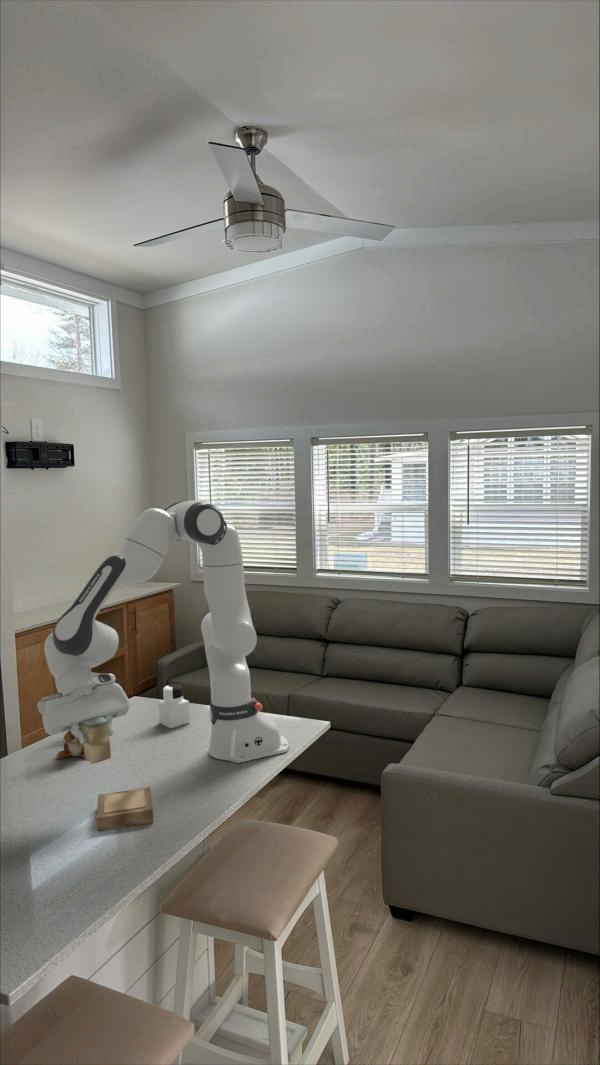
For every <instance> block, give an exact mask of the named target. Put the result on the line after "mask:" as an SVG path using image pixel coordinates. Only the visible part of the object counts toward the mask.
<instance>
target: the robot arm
mask: <svg viewBox="0 0 600 1065" xmlns="http://www.w3.org/2000/svg"><path fill="white" fill-rule="evenodd" d="M238 533H239V532H238V531H237V529H236V527H235V526H233V525H231V524H230V523H227V522H226V520H225V519H224V515H223V513H222V512H221V509H219V508H218V507H217V506H216V505H214V504H213V503H211V502H208V501H200V500H187V501H179V502H175V503H173V504H170V505H169V506H168V507H166V508H165V509H162V508H159V507H158V508H157V507H151V508H148V509H145V510H144V511H143V512H142V513H141V514H140V515H139V517H138V518H137V519H136V521H135V522H134V524H133V525H132V526H131V528H130V530H129V531H128V533H127V535H126V536H125V539H124V540H123V542H122V543H121V545H120V546H119V548H118V549H117V550H116V551H115V553H114V554H112V555H111V556H109V557H107V558H106V559H105V560H104V561H102V563H101V564H100V565H99V567H98V568H97V569H96V571H95V572H94V573H93V574H92V576H91V578H90V579H89V580H88V582H87V583H86V585H85V587H83V589H82V590H81V592H80V593H79V595H78V596H77V597H76V599H75V601H74V602H73V604H71V606H70V607H69V608H68V609H67V610H65V612H64V613H63V614H62V615H61V616H60V617H59V618H58V619H57V621H56V622H55V623H54V624H55V625H54V626H53V630H52V632H51V633H50V634H49V635H48V636H47V637H46V638H45V641H44V645H43V646H44V647H43V649H44V655H45V660H46V663H47V666H48V669H49V671H50V674H51V675H52V676H53V678H54V683H55V684H54V685H55V687H56V690H57V693H56V694H51V695H50V696H44V697H41V698H40V700H38V702H37V705H36V707H37V710H38V713H39V714H40V715H42V716H41V718H42V724H43V727H44V731H45V734H47V735H49V736H54V735H58V734H60V733H65V732H68V731H69V730H70V731H71V733H72V734H73V735H74V736H75V737H77V738H79V740H80V743H81V744H85V743H88V741H89V738H88V737H87V733H85V734H83V733H82V732H81V731H79V730H78V729H79V728H80V727H82V721H86V720H90V719H93V718H97V717H103V718H105V719H107V720H108V722H109V724H108V725H109V737H112V736H113V734H114V730H113V727H112V723H113V719H115V718H119V717H123V716H126V715H128V714H127V713H128V712H129V710H130V707H131V703H130V700H129V697H128V696H127V694H126V692H125V690H124V689H123V687H122V686H121V685H120V684H119V683H116V676H115V675H114V674H113V673H101V672H94V671H93V672H92V669H93V668H94V669H95V668H97V667H99V666H101V665H104V664H105V663H107V662H109V660H112V658H113V657H115V655H116V654H117V652H118V649H119V646H120V637H119V633H118V632H117V630H116V629H115V628H113V627H112V626H109V625H108V624H106V623H103V622H102V621H98V620H96V617H97V615H98V613H99V612H100V611H101V609H102V608H103V607H104V605H105V604H106V602H107V600H108V599H109V597H110V596H111V594H112V593H113V591H115V589H116V588H118V587H120V586H122V585H125V584H137V583H142V582H146V581H149V580H150V579H152V578H153V577H154V576H155V575H156V573H157V572H158V570H159V569H160V567H161V565H162V563H163V561H164V559H165V558H166V555H167V553H168V551H169V548H171V546H172V545H173V544H174V543H175V542H176V541H177V542H178V541H180V542H184V543H185V542H186V543H191V544H193V543H197V544H198V546H199V548H200V551H201V554H202V556H201V557H202V558H201V559H202V561H201V562H202V572H203V573H202V574H203V586H204V595H205V598H206V601H207V605H208V610H209V611H208V613H207V614H206V615H205V616H204V617H203V618H202V621H201V625H200V631H201V634H202V639H203V644H204V645H203V646H204V651H205V656H206V662H207V667H208V672H209V683H210V684H209V685H210V699H211V701H210V702H209V717H210V718H209V719H210V722H211V730H210V731H211V732H210V733H211V734H210V741H209V746H208V752H207V753H208V754H209V756H211V758H212V757H213V758H214V759H217V760H221V761H222V760H224V761H230V762H232V763H236V764H237V763H239V764H240V762H241V763H245V762H248V761H253V759H254V760H258V759H263V758H267V757H271V756H274V755H279V754H284V753H286V752H288V750H289V749H290V745H289V741H288V739H287V738H286V737H285V736H284V735H282V734H281V733H280V730H279V727H278V725H277V723H276V722H275V721H274V719H272V718H271V717H270V716H267V715H266V714H264V713H262V712H261V711H262V710H263V708H264V707H263V704H261V702H259V700H257V699H256V698H255V697H252V690H251V673H250V669H249V666H248V664H247V660H246V657H247V656H249V655H250V654H251V653H252V652H254V650H255V648H256V646H257V642H258V636H257V632H256V629H255V627H254V625H253V620H252V616H251V609H250V606H249V601H248V598H247V593H246V586H245V585H246V584H245V574H244V572H245V571H244V561H243V560H244V559H243V551H242V545H241V542H240V541H241V540H240V537H239V534H238ZM266 756H267V757H266ZM262 757H263V758H262Z"/></svg>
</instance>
